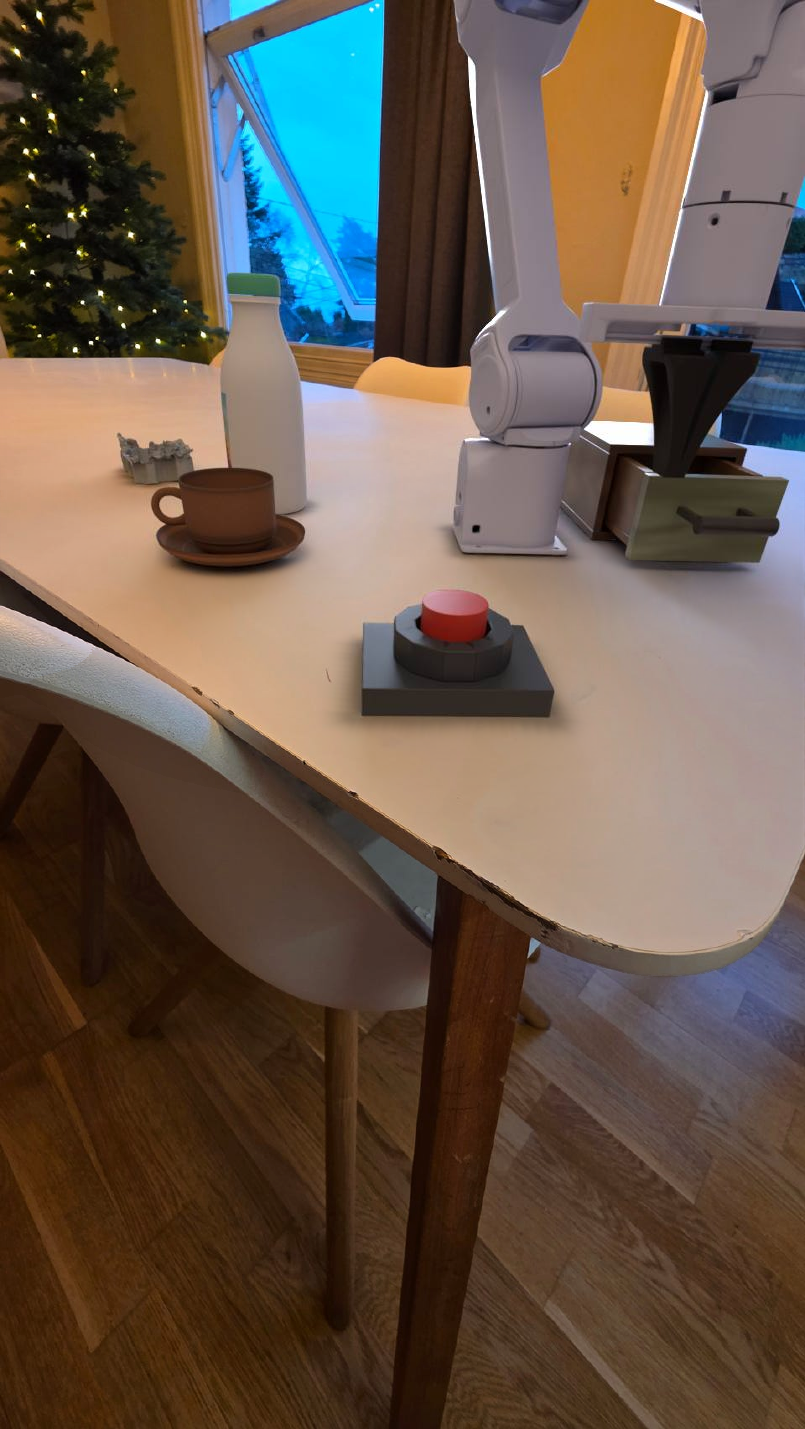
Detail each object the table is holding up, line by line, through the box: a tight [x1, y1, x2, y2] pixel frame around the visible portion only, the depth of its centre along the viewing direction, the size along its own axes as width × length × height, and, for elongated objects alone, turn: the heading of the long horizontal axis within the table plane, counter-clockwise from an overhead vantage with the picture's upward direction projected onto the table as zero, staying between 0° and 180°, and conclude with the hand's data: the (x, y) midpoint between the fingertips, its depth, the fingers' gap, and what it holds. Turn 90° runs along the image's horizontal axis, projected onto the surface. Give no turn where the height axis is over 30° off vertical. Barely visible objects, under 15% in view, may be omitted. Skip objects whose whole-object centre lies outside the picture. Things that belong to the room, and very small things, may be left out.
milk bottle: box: [219, 272, 308, 515], centre depth 60 cm, size 8×8×20 cm
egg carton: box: [116, 432, 195, 485], centre depth 74 cm, size 11×8×4 cm
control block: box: [361, 603, 555, 718], centre depth 35 cm, size 10×8×4 cm
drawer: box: [603, 454, 790, 564], centre depth 54 cm, size 17×11×7 cm, turn 3°
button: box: [421, 589, 490, 642], centre depth 34 cm, size 4×4×2 cm
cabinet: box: [560, 420, 748, 541], centre depth 64 cm, size 14×13×9 cm
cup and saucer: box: [150, 467, 306, 567], centre depth 51 cm, size 12×12×6 cm
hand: (668, 474), depth 41 cm, fingers closed
